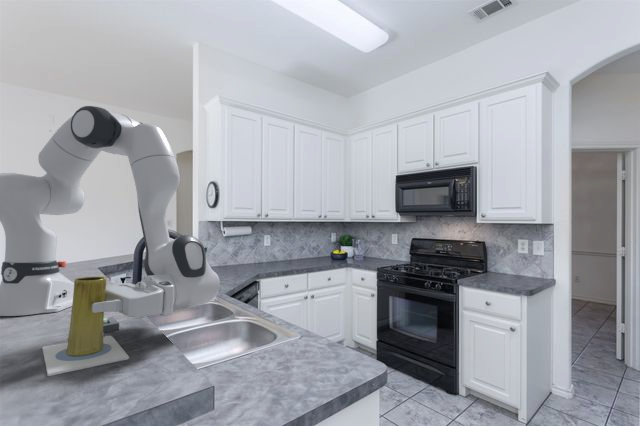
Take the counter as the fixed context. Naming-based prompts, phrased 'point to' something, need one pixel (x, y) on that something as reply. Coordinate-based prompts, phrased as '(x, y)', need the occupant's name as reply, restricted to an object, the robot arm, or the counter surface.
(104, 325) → the button collar
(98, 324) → the vase
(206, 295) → the robot arm
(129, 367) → the counter surface
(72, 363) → the paper pad
